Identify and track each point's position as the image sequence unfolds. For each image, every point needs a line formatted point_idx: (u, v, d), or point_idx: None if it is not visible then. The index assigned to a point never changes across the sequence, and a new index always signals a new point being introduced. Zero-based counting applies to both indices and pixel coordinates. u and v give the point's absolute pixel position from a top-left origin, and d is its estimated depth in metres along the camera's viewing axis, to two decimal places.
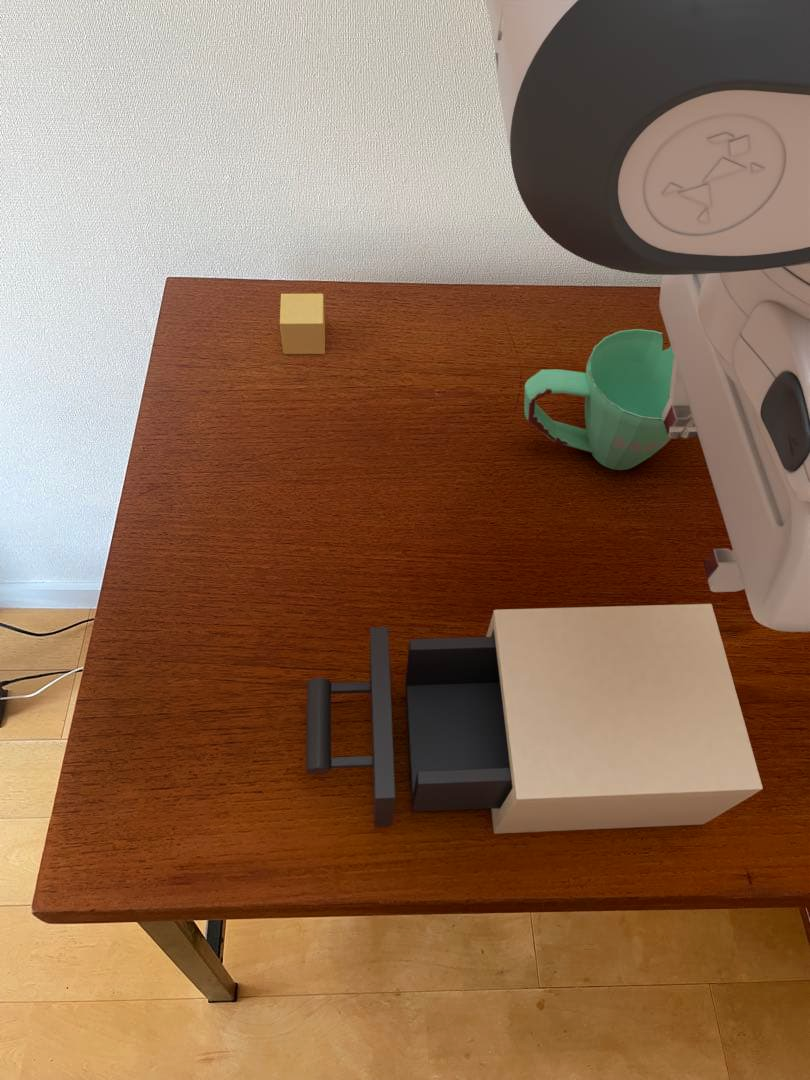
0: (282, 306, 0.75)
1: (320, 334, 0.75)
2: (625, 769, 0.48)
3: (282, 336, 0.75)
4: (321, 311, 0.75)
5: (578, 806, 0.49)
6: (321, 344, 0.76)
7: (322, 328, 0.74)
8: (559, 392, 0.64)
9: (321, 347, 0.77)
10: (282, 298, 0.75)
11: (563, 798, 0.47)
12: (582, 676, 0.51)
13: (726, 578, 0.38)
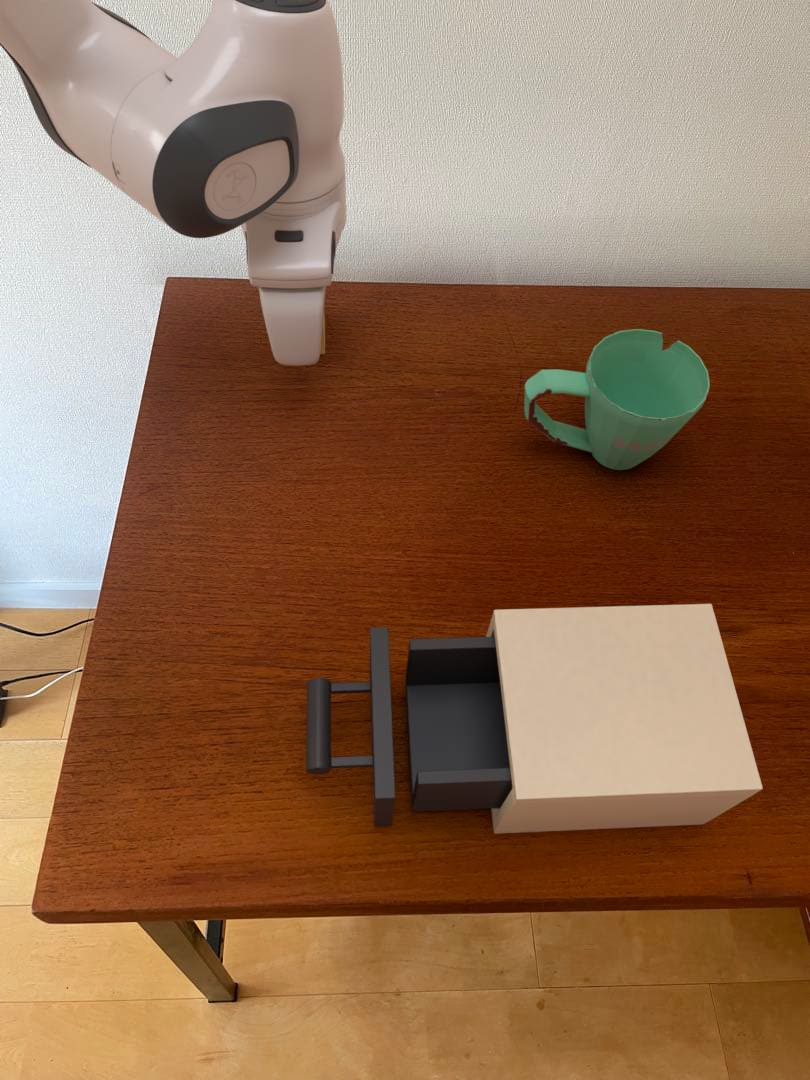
0: None
1: None
2: (625, 769, 0.48)
3: None
4: None
5: (578, 806, 0.49)
6: (321, 344, 0.76)
7: (322, 328, 0.75)
8: (559, 392, 0.64)
9: (321, 347, 0.77)
10: None
11: (563, 798, 0.47)
12: (582, 676, 0.51)
13: None
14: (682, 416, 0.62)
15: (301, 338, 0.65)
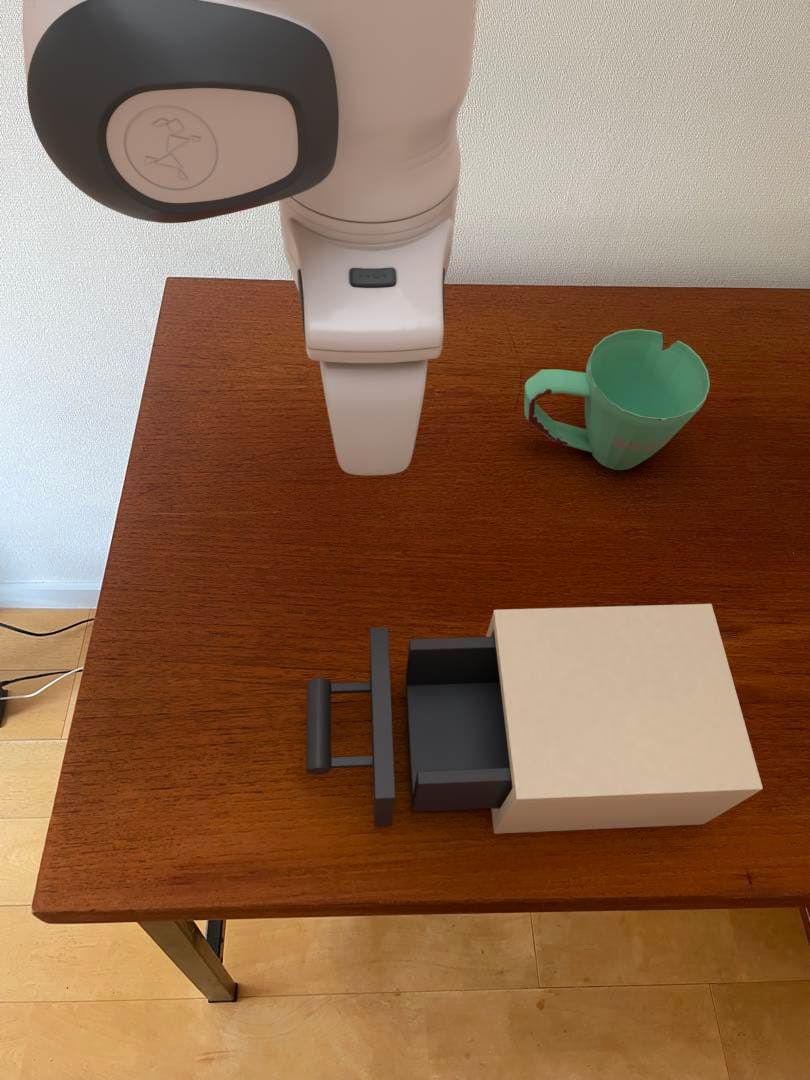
0: None
1: None
2: (625, 769, 0.48)
3: None
4: None
5: (578, 806, 0.49)
6: None
7: None
8: (559, 392, 0.64)
9: None
10: None
11: (563, 798, 0.47)
12: (582, 676, 0.51)
13: None
14: (682, 416, 0.62)
15: (386, 438, 0.40)
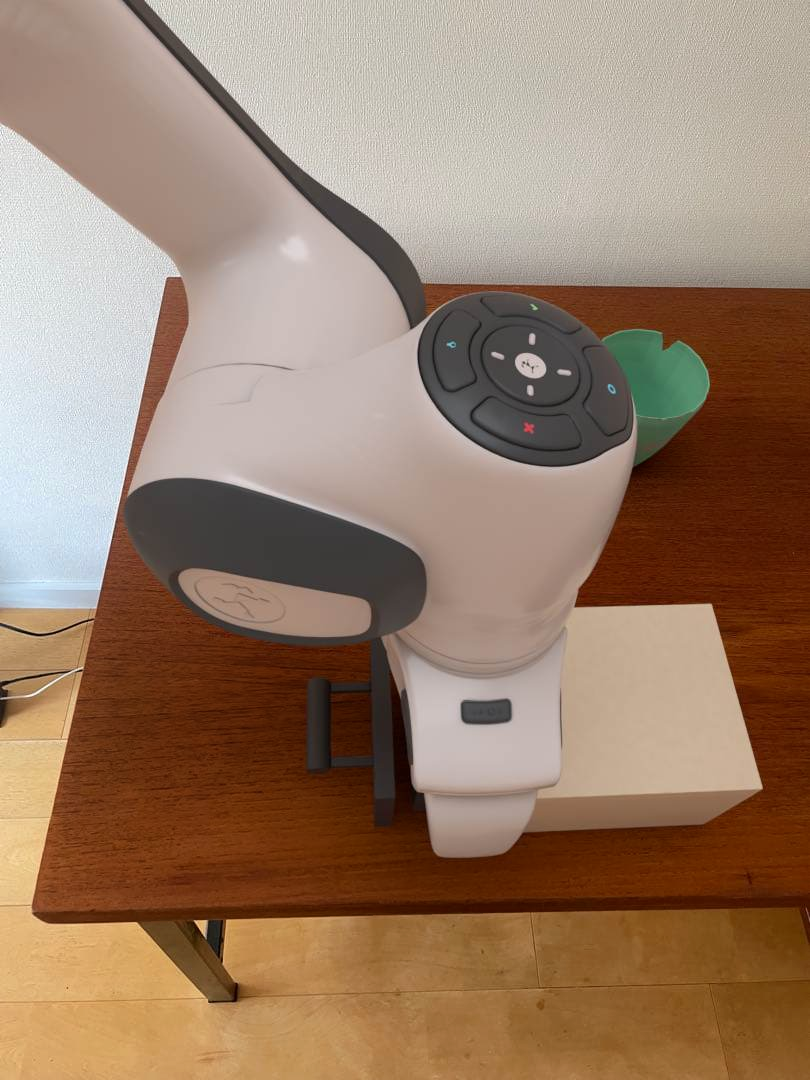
0: None
1: None
2: (625, 769, 0.48)
3: None
4: None
5: (578, 806, 0.49)
6: None
7: None
8: None
9: None
10: None
11: (563, 798, 0.47)
12: (582, 676, 0.51)
13: None
14: (682, 416, 0.62)
15: (488, 841, 0.37)
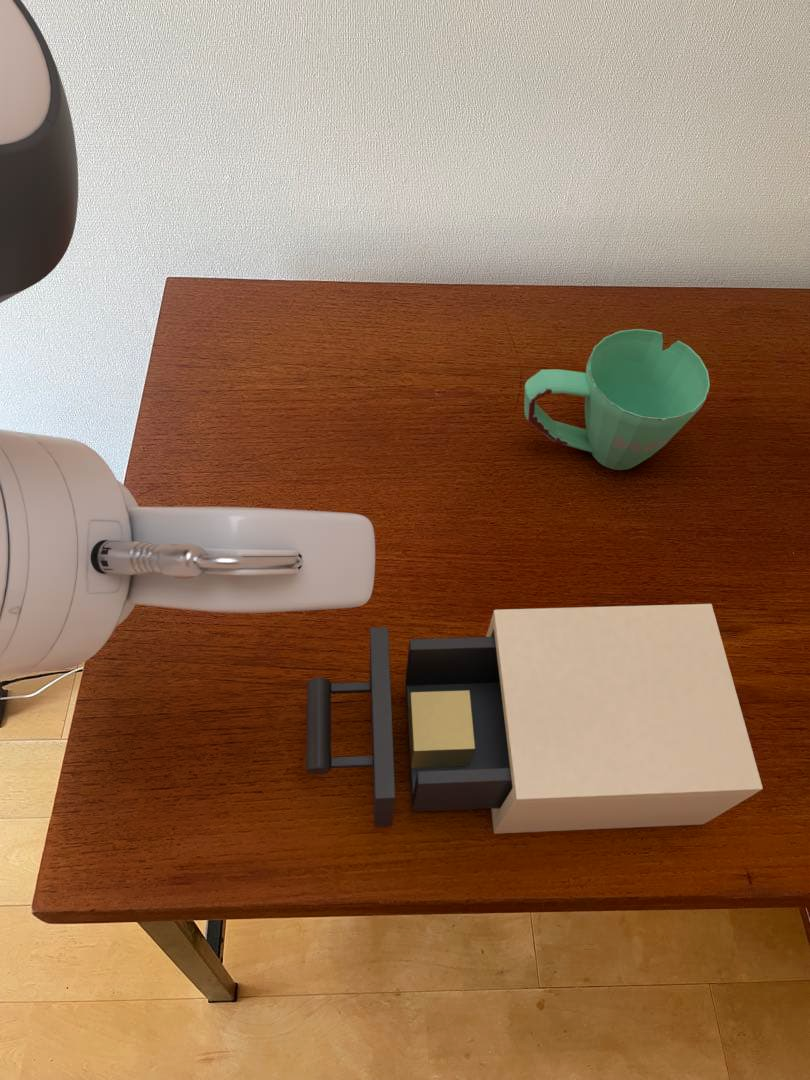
0: (415, 716, 0.53)
1: (467, 755, 0.53)
2: (625, 769, 0.48)
3: (414, 758, 0.53)
4: (470, 725, 0.52)
5: (578, 806, 0.49)
6: (466, 760, 0.54)
7: (472, 751, 0.52)
8: (559, 392, 0.64)
9: (466, 762, 0.54)
10: (413, 701, 0.53)
11: (563, 798, 0.47)
12: (582, 676, 0.51)
13: None
14: (682, 416, 0.62)
15: None
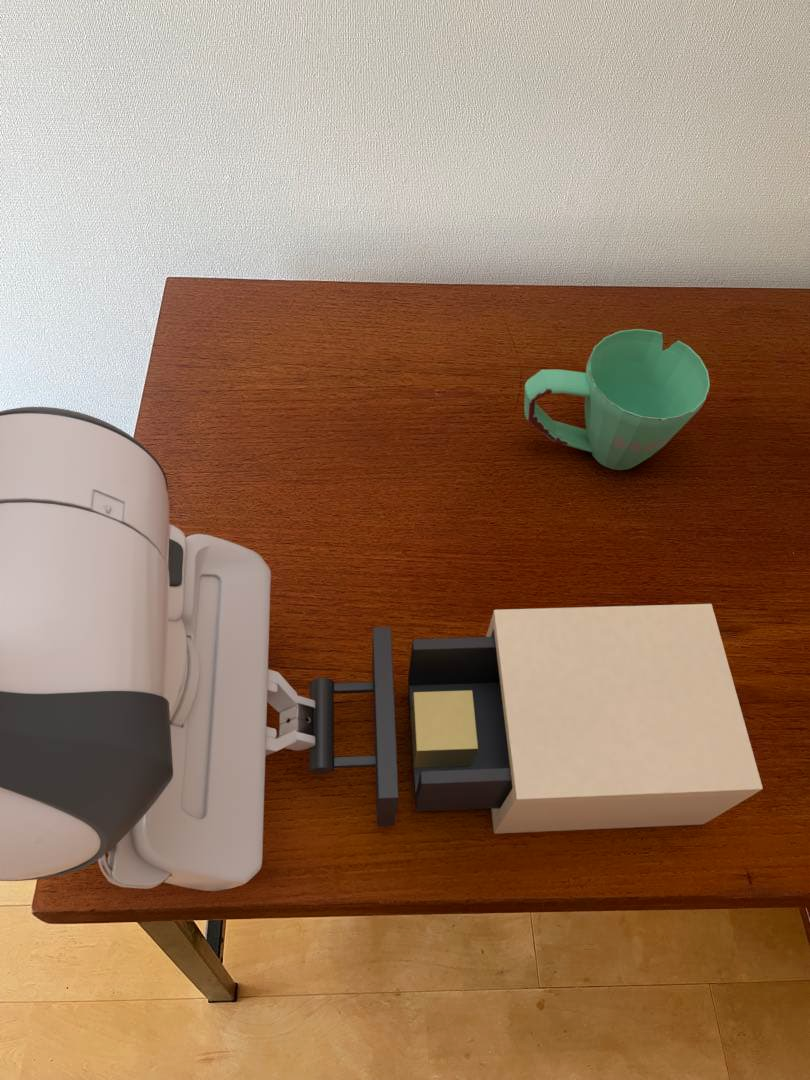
0: (418, 716, 0.53)
1: (470, 755, 0.53)
2: (625, 769, 0.48)
3: (417, 757, 0.53)
4: (473, 725, 0.52)
5: (578, 806, 0.49)
6: (469, 760, 0.54)
7: (475, 751, 0.52)
8: (559, 392, 0.64)
9: (468, 762, 0.54)
10: (416, 701, 0.53)
11: (563, 798, 0.47)
12: (582, 676, 0.51)
13: None
14: (682, 416, 0.62)
15: None
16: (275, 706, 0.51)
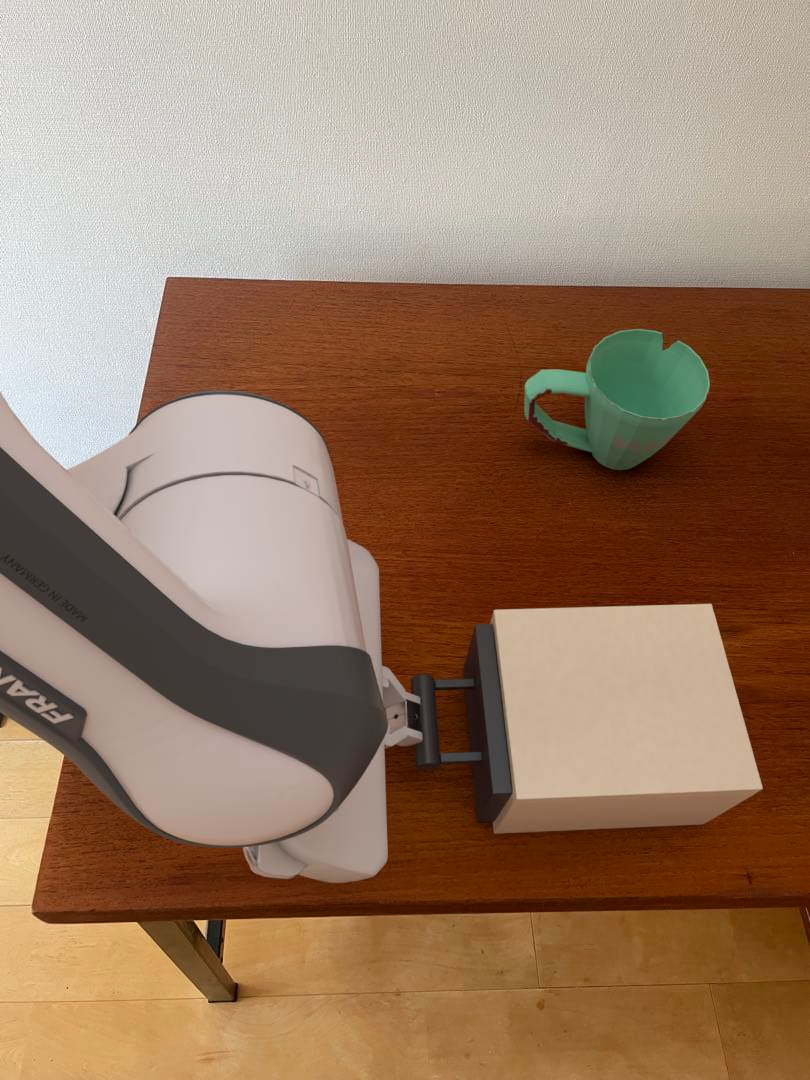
0: None
1: None
2: (625, 769, 0.48)
3: None
4: None
5: (578, 806, 0.49)
6: None
7: None
8: (559, 392, 0.64)
9: None
10: None
11: (563, 798, 0.47)
12: (582, 676, 0.51)
13: None
14: (682, 416, 0.62)
15: None
16: (382, 702, 0.52)
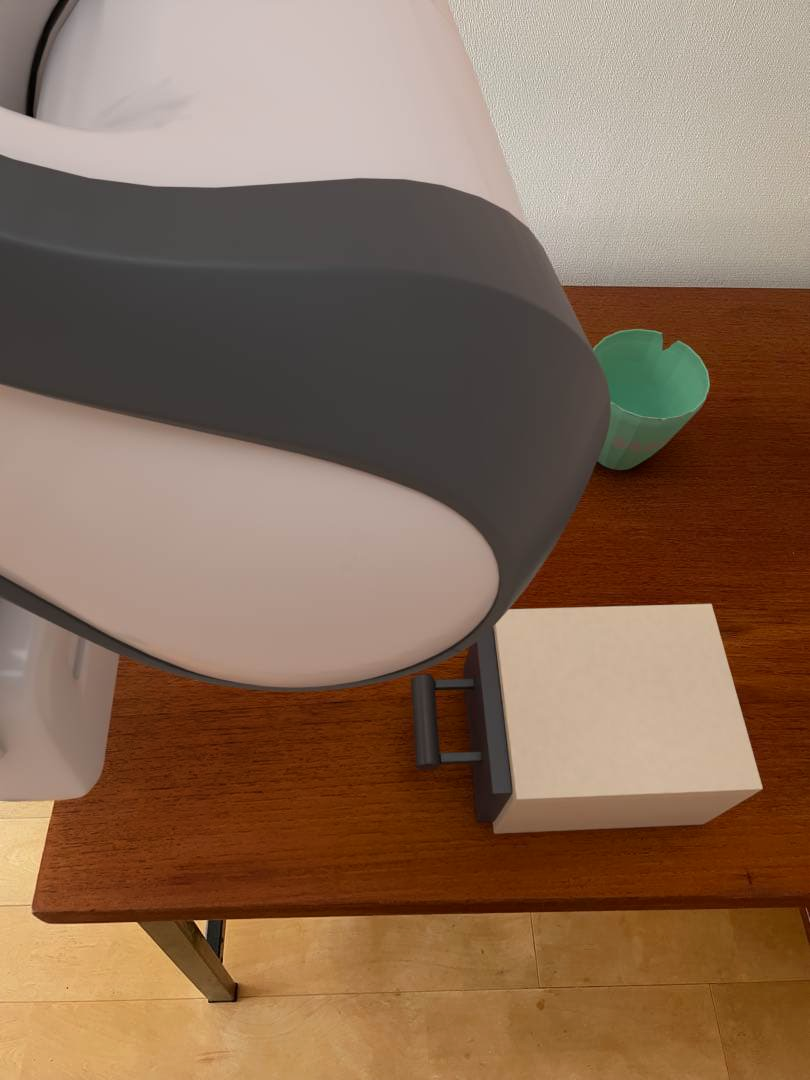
0: None
1: None
2: (625, 769, 0.48)
3: None
4: None
5: (578, 806, 0.49)
6: None
7: None
8: None
9: None
10: None
11: (563, 798, 0.47)
12: (582, 676, 0.51)
13: None
14: (682, 416, 0.62)
15: None
16: None
